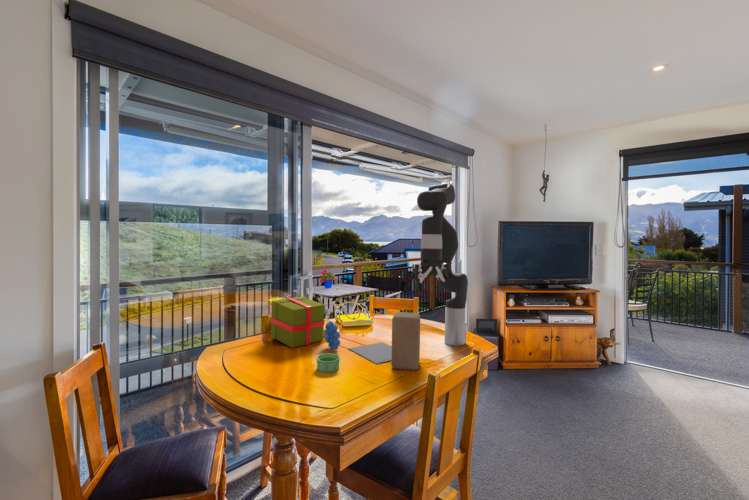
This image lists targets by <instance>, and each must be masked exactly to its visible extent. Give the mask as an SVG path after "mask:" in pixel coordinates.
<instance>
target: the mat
mask: <svg viewBox="0 0 749 500" xmlns="http://www.w3.org/2000/svg"><path fill="white" fill-rule="evenodd" d="M348 350H350V351H351V352H353V353H355V354H357V355H359V356H361V357H362V358H365V359H366V360H367V361H369V362H372V363H374V364H375V365H379V364H384V363H385V364H386V363H389V362H392V345H390V344H388V343H385V342H383V341H380V342H375V343H371V344H365V345H359V346H354V347H349V348H348Z"/></svg>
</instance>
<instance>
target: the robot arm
mask: <svg viewBox="0 0 749 500" xmlns="http://www.w3.org/2000/svg"><path fill="white" fill-rule="evenodd" d="M416 200H417V201H416V202H417V203H416V204H417V206H418V208H419V209H420V210H421V211H423V212H424V211H425V212H428V211H429V212H431V213H432V216H429V217H424V218H423V219H422V220H421V221H422V222H421V238H420V239H421V240H420V264H419V263H412V265H411V266H412V267H411V280H412V281H414V282H416V292H417V293H418V294H420V295H421V294H423V287H424V285H423V281H424V280H425V279H426V278H427V277H431V276H433V277H436V279H437V292H438V293H444V291H446V292H449V293H455V297H453V298H449V299H446V300H445V311H444V313H445V315H444V344H446V345H447V346H454V347H455V346H456V347H461V346H464V345H465V344H467V323H466V304H467V296H468V284H469V283H468V276H467V274H465V273H463V272H453V270H452V262H453V259H454V257H455V255H456V253H457V252H458V249H459V241H458V233H457V231H456V229H455V227H454V226H453V225H452V224H451V223H450V222H449V221H448V219H446V217H445V216H444V214H445V212H446V209H447V205H451V204H453V203H454V202H455V201H456V191H455V187H454V185H453V184H452V183H450V182H448V183H447V182H446V183H441V184H433V185H430V186H429V187H428V190H422V191H421V192H420V193H419V194H418V195H417V198H416ZM419 271H420V272H419Z"/></svg>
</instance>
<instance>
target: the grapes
mask: <svg viewBox="0 0 749 500" xmlns="http://www.w3.org/2000/svg"><path fill="white" fill-rule="evenodd" d="M324 329H325V330H324V331H323V340H325V342H326V343H327V344H328V347H329V348H330V349H331V350H334V351H337V350H338V349H339V346H340V344H341V340H340V336H341V333H340V332H339V331H338V326H337V325H336V324H335V323H334V321H329V322H327V323H326V324H325V325H324Z"/></svg>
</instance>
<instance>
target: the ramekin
mask: <svg viewBox="0 0 749 500" xmlns="http://www.w3.org/2000/svg"><path fill="white" fill-rule="evenodd" d="M315 359H316V369H317V370H318V371H319V372H322V373H333V372H336V371H337V370H339V368H340V359H341V357H340V355H339V354H336V353H322V354H318V355H317V356H316V357H315Z"/></svg>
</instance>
